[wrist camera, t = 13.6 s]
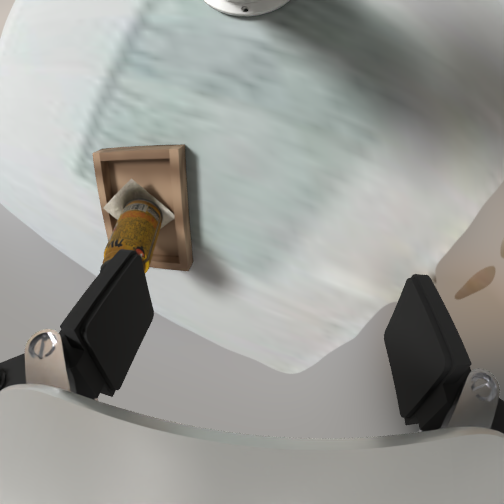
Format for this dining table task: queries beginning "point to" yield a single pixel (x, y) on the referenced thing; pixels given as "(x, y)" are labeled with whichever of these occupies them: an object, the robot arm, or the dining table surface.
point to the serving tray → (157, 185)
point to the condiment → (135, 222)
